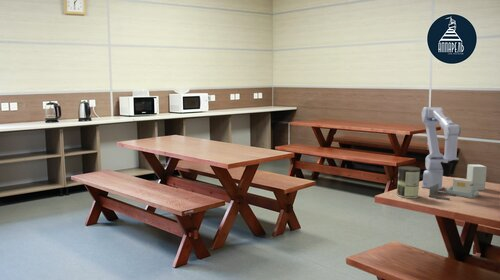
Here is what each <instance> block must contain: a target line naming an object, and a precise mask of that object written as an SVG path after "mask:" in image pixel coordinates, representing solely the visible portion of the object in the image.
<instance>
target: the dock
mask: <svg viewBox="0 0 500 280" xmlns="http://www.w3.org/2000/svg"><path fill="white" fill-rule="evenodd" d="M438 185H439V184H438V183H437V184H435V185H433V186H431V187H430V188H429V193H428V194H429V196H428V197H429V198H434V199H438V200H439V199H440V200H445V201H450V197H451V196H452V197H457V196H456V194H452V193H446V191H439V190H438ZM437 194H440V195H446V196H450V197H446V196H440V195H437Z"/></svg>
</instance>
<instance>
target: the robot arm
mask: <svg viewBox="0 0 500 280" xmlns="http://www.w3.org/2000/svg"><path fill="white" fill-rule="evenodd" d="M421 121H422V124H424V125H425V131H426V138H427V143H428V149H429V150H428V151H429V154H428V155H427V156H426V157H425V166H424V167H425V170H424V171H423V174H422V185H421V187H422V188H426V189H430V187H431V186H433V185H435V184H437V183H438V184H439V185H438V191H439V190H443V189H444V188H445V185H444V186H443V176H444V177H450V175H454V174H455V171H456V168H457V166H458V163H460V161H459V160H460V158H459V157H457V152H458V142H459V141H458V140H459V136H460V135H461V133H462V127H461V126H460V124H455V122H453V121H452V120H451V118H450V116H449V117H448V116H445V114H444V109H443V108H442V107H440V106H439V107H438V106H437V107H432V106H424V107H423V108H422V110H421ZM438 124H439V126H440V128H441V129H442V130H443V134H444V139H445V140H444V154H443V153H441V151H440V147H439V146H440V144H439V140H438V135H437V127H436V126H437V125H438Z"/></svg>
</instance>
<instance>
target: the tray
mask: <svg viewBox="0 0 500 280" xmlns="http://www.w3.org/2000/svg"><path fill="white" fill-rule="evenodd" d="M445 192H446V193H452V194H456V196H455V197H464V198H468V199H474V198H475V197H478V196H479V194H480V193H479V192H480V190H473V189H472V193H466V192H460V191H453V185H452V186H449V187H447V188H446V189H445Z"/></svg>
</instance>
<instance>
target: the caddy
mask: <svg viewBox="0 0 500 280" xmlns="http://www.w3.org/2000/svg"><path fill="white" fill-rule="evenodd" d="M452 180H453V181H452V186H453V191H460V192H466V193H472V186H473V185H474V184H472V183H473V180H469V179H467V178H461V177H455V178H453V179H452Z"/></svg>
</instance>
